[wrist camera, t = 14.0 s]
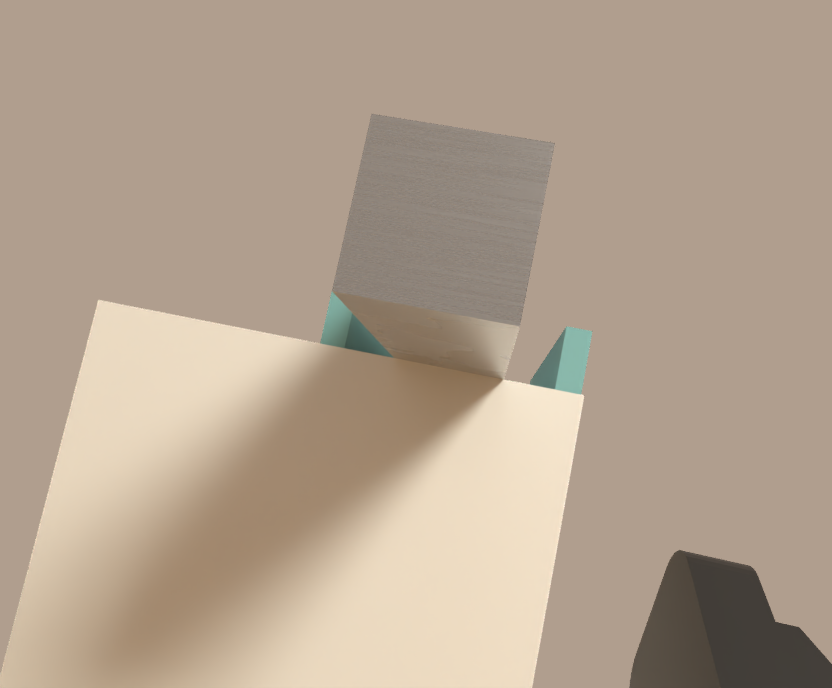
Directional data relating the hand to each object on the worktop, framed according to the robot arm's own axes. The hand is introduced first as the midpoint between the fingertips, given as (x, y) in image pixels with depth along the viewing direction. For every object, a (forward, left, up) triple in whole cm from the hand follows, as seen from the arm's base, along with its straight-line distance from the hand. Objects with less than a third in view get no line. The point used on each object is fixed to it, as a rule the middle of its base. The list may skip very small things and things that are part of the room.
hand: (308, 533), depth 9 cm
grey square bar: (0, +19, +4) cm, 19 cm away
